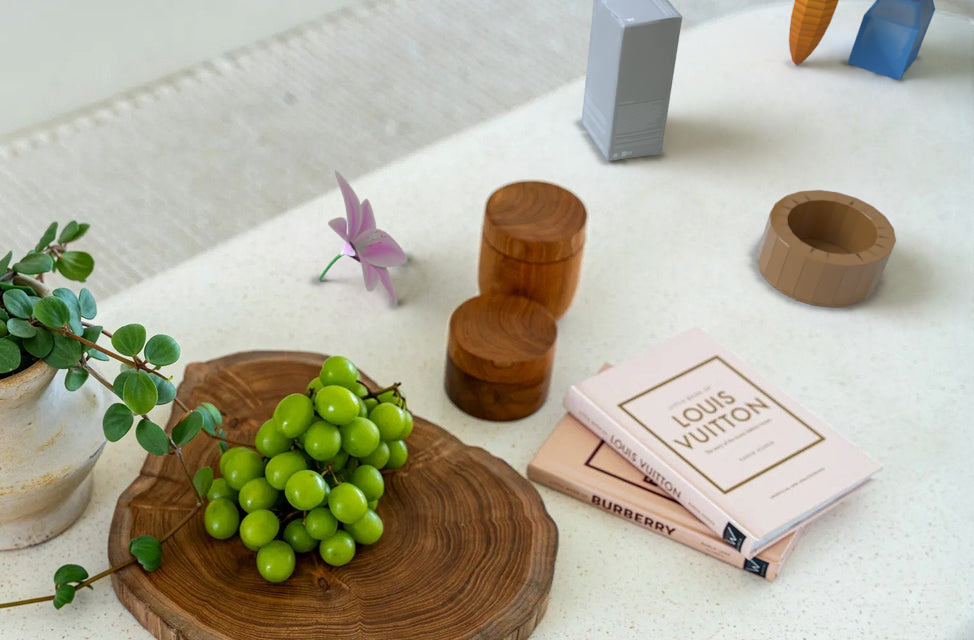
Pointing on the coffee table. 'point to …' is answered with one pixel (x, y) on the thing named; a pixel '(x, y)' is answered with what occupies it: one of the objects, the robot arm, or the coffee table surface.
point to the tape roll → (825, 248)
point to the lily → (366, 241)
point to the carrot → (809, 26)
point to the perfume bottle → (891, 36)
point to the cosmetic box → (630, 75)
